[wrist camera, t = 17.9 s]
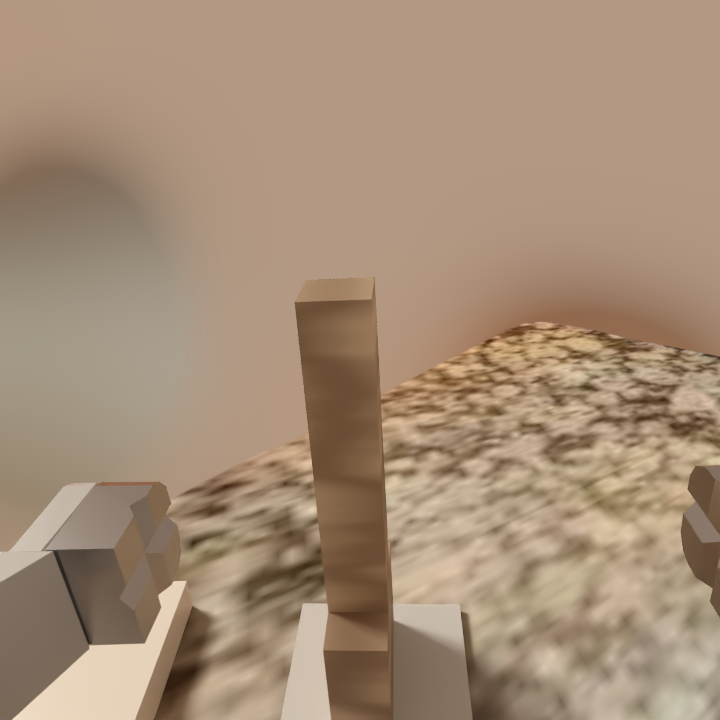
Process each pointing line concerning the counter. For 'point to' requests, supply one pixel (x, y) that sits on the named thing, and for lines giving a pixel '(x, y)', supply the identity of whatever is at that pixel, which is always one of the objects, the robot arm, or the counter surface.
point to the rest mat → (410, 665)
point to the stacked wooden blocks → (349, 491)
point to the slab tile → (119, 672)
